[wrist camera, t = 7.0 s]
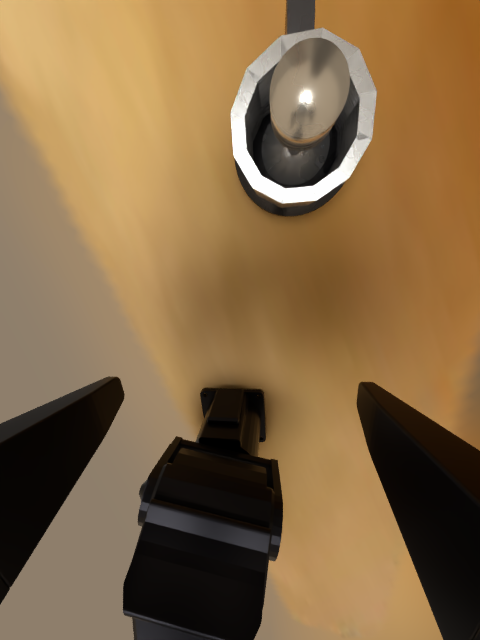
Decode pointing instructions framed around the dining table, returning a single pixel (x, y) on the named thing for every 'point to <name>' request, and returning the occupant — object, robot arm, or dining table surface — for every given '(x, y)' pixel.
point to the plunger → (304, 109)
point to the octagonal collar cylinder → (255, 116)
